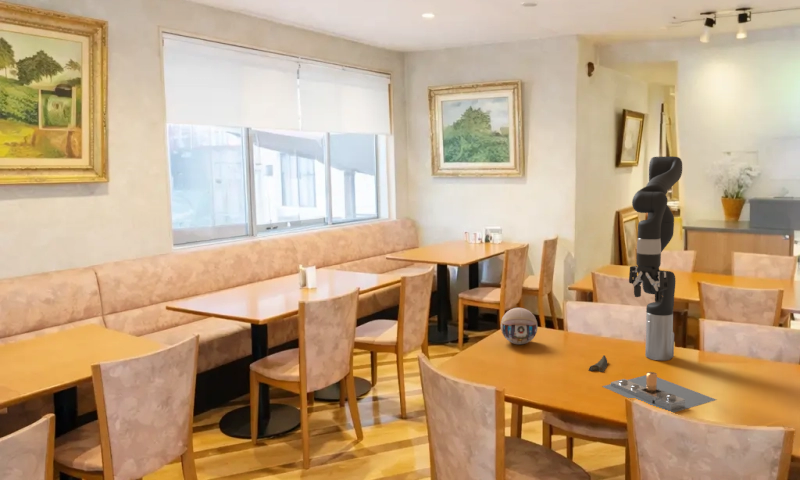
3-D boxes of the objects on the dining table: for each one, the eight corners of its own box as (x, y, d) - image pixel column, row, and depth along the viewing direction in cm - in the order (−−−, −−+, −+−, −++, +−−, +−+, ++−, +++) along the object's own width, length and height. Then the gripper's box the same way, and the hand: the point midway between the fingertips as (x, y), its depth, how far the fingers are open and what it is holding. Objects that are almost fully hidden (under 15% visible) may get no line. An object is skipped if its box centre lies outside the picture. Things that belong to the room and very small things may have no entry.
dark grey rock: (601, 375, 216) (601, 365, 216) (587, 372, 219) (587, 362, 219) (615, 365, 226) (615, 355, 225) (602, 363, 229) (602, 353, 228)
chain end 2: (649, 392, 197) (650, 382, 197) (684, 407, 185) (685, 396, 185) (636, 396, 195) (636, 386, 194) (670, 411, 183) (671, 400, 182)
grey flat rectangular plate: (649, 375, 213) (649, 374, 213) (716, 400, 190) (716, 399, 190) (601, 387, 204) (601, 386, 204) (666, 415, 181) (666, 414, 181)
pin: (650, 395, 195) (651, 371, 194) (658, 398, 192) (659, 374, 191) (643, 397, 194) (644, 373, 193) (651, 400, 191) (652, 375, 190)
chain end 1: (624, 382, 207) (624, 377, 207) (666, 399, 192) (666, 394, 191) (610, 385, 204) (610, 380, 204) (652, 403, 189) (652, 397, 189)
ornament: (493, 344, 254) (492, 308, 252) (515, 336, 264) (515, 302, 262) (523, 351, 243) (523, 314, 241) (544, 343, 253) (544, 307, 251)
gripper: (674, 253, 199) (673, 301, 201) (640, 248, 212) (639, 293, 214) (658, 255, 196) (656, 305, 198) (623, 250, 209) (623, 296, 211)
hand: (647, 299), depth 206 cm, fingers open, 8 cm apart
